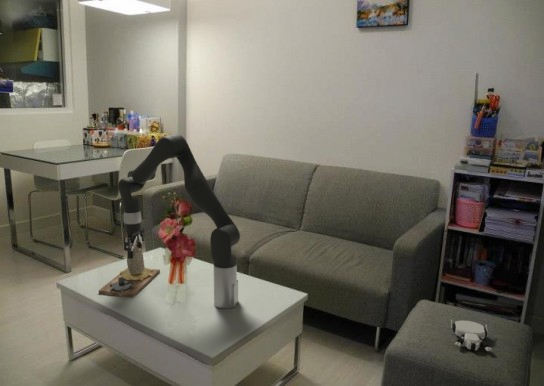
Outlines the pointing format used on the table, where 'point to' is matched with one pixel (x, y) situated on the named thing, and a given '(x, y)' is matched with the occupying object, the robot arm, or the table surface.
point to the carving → (136, 262)
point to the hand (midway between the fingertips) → (135, 255)
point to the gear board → (129, 283)
